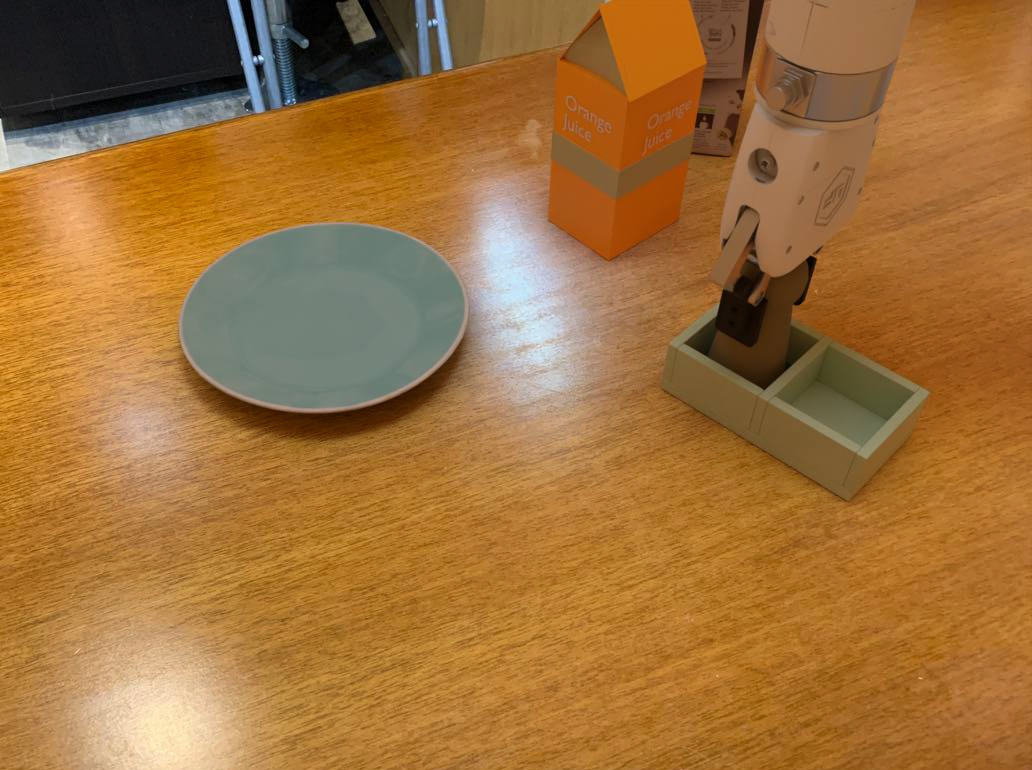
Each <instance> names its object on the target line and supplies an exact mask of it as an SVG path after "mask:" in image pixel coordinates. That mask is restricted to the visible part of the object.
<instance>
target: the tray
mask: <svg viewBox="0 0 1032 770" xmlns="http://www.w3.org/2000/svg"><path fill="white" fill-rule="evenodd" d="M719 304H720V301H718V302H717V303H715V304H714V305H713V306H712V307H711V308H710V309H708V310H707V311H706V312H705V313H704V314H702V315H701V316H700V317H698V318H697V319H696V320H695V321H694V322H692V323H691V324H690V325H689V326H688V327H686V328H685V329H684V330H683V331H682V332H681V333H679V334H678V335H677V336H676V337H674V338H673V339H672V340H671V341H669V342H668V345H667V350H666V355H665V359H664V360H665V361H664V366H663V371H662V377H661V383H660V388H661V389H662V390H663V391H664V392H666V393H669V395H672V396H673V397H675V398H676V399H678V400H680V401H682V402H683V403H685V404H687V406H690V407H691V408H693V409H695V410H696V411H698V412H700V413H701V414H703V415H705V416H706V417H708V418H709V419H711V420H713V421H714V422H716V423H718V424H720V425H721V426H723V427H724V428H726V429H728V430H729V431H731V432H733V433H734V434H736V435H737V436H739V437H740V438H742V439H744V440H746V441H747V442H749V443H751V444H752V445H754V446H756V447H757V448H759V449H761V450H762V451H764V452H765V453H767V454H769V455H770V456H772V457H773V458H775V459H777V460H779V461H780V462H782V463H783V464H785V465H786V466H788V467H790V468H792V469H793V470H795V471H797V472H799V473H800V474H802V475H803V476H805V477H807V478H809V479H810V480H811V481H813V482H815V483H817V484H818V485H820V486H821V487H823V488H824V489H826V490H828V491H830V493H833V494H834V495H836V496H838V497H840V498H841V499H843V500H844V501H846V502H848V503H849V502H850V501H851V500H853V498H854V497H855V496H856V494H857V493H859V492H860V491H861V490H862V488H863V487H865V485H866V484H867V483H868V482H869V481H870V480H871V479H872V478H873V477H874V476H875V474H876V473H878V471H879V470H880V469H881V468H882V467H883V466H884V465H885V464H886V463H887V462H888V461H889V460H890V459H891V457H892V456H893V455H894V454H895V453H896V452H897V451H898V450H899V449H900V448H901V447H902V446H903V445H904V444H905V443H906V442H907V440H908V439H909V438H910V437H911V436H912V434H913V432H914V429H915V427H916V426H917V423H918V421H919V419H920V416H921V414H922V412H923V410H924V408H925V406H926V403H927V401H928V399H929V398H930V394H931V391H930V390H928V389H926V388H924V387H922V386H920V385H918V384H917V383H915V382H913V381H911V380H909V379H907V378H905V377H904V376H902V375H900V374H898V373H896V372H894V371H892V370H891V369H888V368H887V367H885V366H883V365H882V364H879V363H877V362H876V361H874V360H872V359H871V358H869V357H867V356H865V355H864V354H861V353H859V352H857V351H856V350H854V349H852V348H850V347H849V346H846V345H845V344H842V343H841V342H839V341H837V340H835V339H833V338H831V337H829V336H828V335H826V334H824V333H822V332H820V331H819V330H817V329H815V328H813V327H811V326H809V325H807V324H805V323H804V322H802V321H800V320H798V319H796V318H794V317H793V316H792V317H791V325H790V334H789V342H788V350H787V359H786V367H785V372H784V373H783V374H782V375H781V376H780V377H779V378H778V379H777V380H776V381H774V382H773V383H772V384H771V385H770V386H769V387H768V388H767V389H766V390H765V391H764V390H763V389H761V388H760V387H758V386H756V385H755V384H753V383H751V382H749V381H748V380H746V379H744V378H743V377H741V376H739V375H737V374H736V373H734V372H732V371H730V370H729V369H727V368H725V367H724V366H722V365H720V364H718V363H717V362H715V361H713V360H712V359H710V358H708V357H707V355H708V353H709V350H710V348H711V345H712V343H713V340H714V338H715V336H716V333H717V331H718V330H717V329H716V327H715V321H716V317H717V313H718V308H719Z"/></svg>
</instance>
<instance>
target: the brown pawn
mask: <svg viewBox="0 0 1032 770" xmlns="http://www.w3.org/2000/svg"><path fill="white" fill-rule="evenodd" d="M753 247H754V248H756V246H755V244H754V246H753ZM759 269H760V268H759V267H757V266H755V265H753V264H751V263H749V262H747V261H745V262H744V264H743V266H742V268H741V270H740V274H741V275H743V276H745V277H747V278H749V279H750V280H751V281H752V282H753V283H754V282H755V279H756V277H757V274H758V272H759ZM808 278H809V276H808V264H807V261H806V259H805V260H804V261H803V262H802V263H801V264H799V265H798V266H797V267H796V268H794V269H793V270H792V271H790V272H789V273H787V274H785V275H782V276H779V277H771V280H770V282H769V285H768V287H767V289H766V292H765V294H764V298H766V299H767V300H768V304H767V308H766V311H765V315H764V319H763V322H762V326H761V330H760V334H759V337H758V341H757V343H756V344H755V345H754V346H752V347H751V348H750V347H747V346H745V345H743V344H741V343H740V342H738V341H736V340H734V339H733V338H731V337H729V336H727V335H725V334H724V333H722V332H720V331H717V333H716V336H715V338H714V340H713V343H712V345H711V348H710V350H709V353H708V355H707V357H708V358H710V359H712V360H713V361H715V362H717V363H718V364H720V365H722V366H724V367H725V368H727V369H729V370H730V371H732V372H734V373H736V374H737V375H739V376H741V377H743V378H744V379H746V380H748V381H749V382H751V383H753V384H755V385H756V386H758V387H760V388H761V389H763V390H764V391H765V390H766V389H767V388H768V387H769V386H770V385H771V384H772V383H773V382H774V381H776V380H777V379H778V378H779V377H780V376H781V375H782V374H783V373H784V372H785V367H786V359H787V350H788V342H789V334H790V325H791V317H793V307H794V305H793V303H794V302H796V301H797V300H798V299H799V298H800V296H801V295H802V293H803V292H804V289H805V287H806V284H807V281H808Z"/></svg>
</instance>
